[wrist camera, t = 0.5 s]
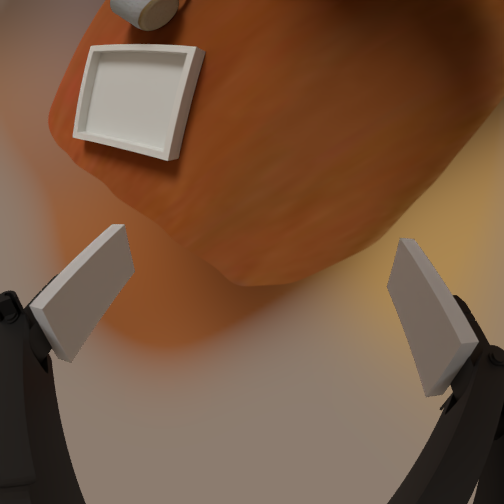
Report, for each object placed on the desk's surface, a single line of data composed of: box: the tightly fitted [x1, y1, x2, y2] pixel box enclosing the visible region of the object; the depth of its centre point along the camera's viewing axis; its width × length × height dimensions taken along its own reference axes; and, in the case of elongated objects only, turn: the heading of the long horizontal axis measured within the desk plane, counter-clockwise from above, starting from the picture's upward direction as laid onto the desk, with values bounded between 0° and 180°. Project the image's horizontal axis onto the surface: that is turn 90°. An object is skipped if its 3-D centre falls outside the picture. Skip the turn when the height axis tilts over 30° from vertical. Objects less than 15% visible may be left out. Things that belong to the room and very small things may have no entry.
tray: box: [73, 44, 205, 161], centre depth 35 cm, size 16×20×3 cm
